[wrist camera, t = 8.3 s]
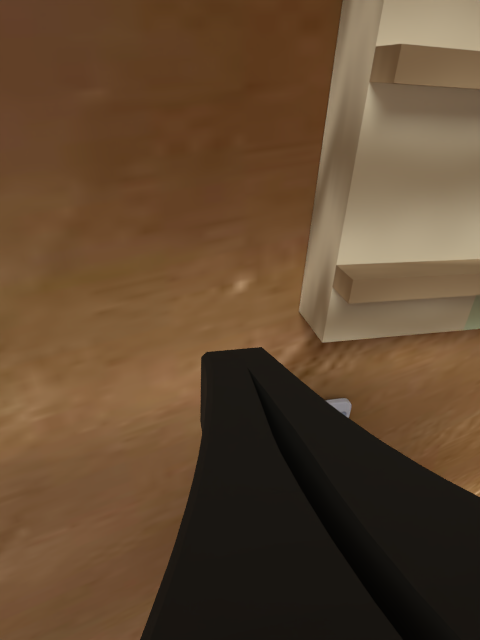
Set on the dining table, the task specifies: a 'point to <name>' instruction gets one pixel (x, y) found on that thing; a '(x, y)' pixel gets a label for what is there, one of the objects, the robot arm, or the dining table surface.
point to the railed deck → (398, 175)
